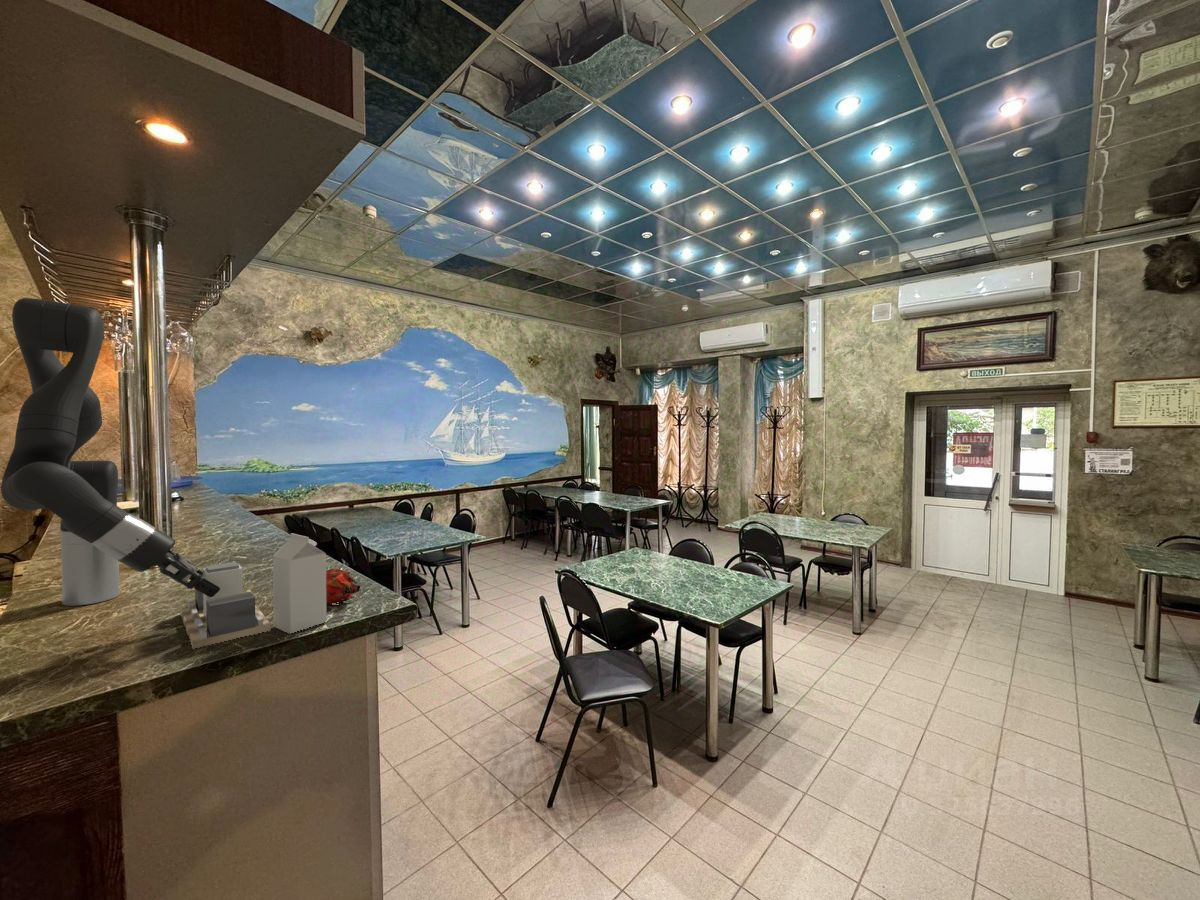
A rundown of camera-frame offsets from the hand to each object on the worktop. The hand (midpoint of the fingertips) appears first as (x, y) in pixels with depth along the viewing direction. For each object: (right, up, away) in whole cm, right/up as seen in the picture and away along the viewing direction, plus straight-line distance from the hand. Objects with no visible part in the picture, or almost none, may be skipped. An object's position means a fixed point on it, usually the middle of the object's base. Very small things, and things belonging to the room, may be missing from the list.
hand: (213, 588), depth 98 cm
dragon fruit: (+18, -8, +14) cm, 24 cm away
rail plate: (+1, -8, +1) cm, 8 cm away
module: (+1, -6, +1) cm, 6 cm away
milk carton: (+18, -8, 0) cm, 20 cm away
